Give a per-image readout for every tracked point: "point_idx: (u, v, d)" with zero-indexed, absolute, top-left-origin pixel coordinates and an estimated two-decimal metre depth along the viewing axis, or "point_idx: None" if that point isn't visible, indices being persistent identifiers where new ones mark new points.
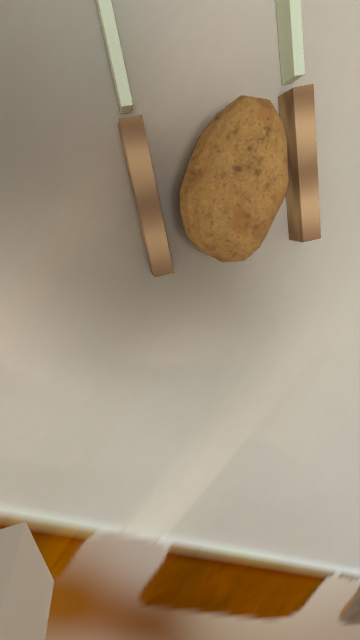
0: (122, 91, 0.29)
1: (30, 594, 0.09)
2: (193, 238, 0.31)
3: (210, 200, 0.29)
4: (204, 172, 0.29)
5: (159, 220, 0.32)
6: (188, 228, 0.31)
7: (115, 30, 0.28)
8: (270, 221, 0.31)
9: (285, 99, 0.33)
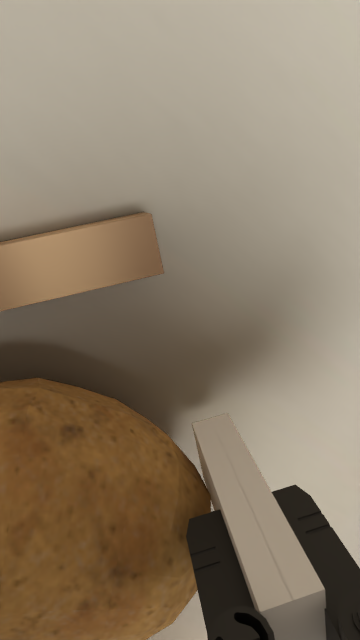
0: None
1: None
2: None
3: None
4: None
5: None
6: None
7: None
8: (100, 493, 0.10)
9: None
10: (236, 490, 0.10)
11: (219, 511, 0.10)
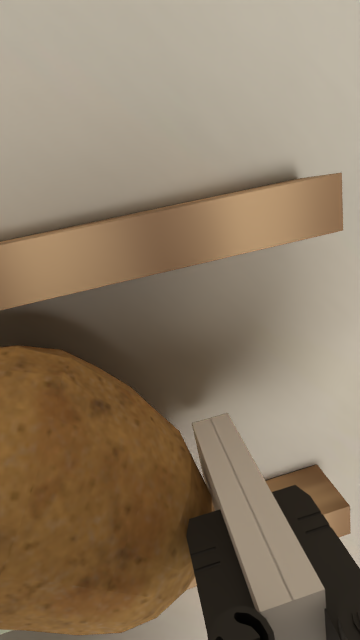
0: None
1: None
2: None
3: (32, 629, 0.11)
4: None
5: None
6: None
7: None
8: (121, 472, 0.10)
9: None
10: (236, 490, 0.10)
11: (219, 511, 0.10)
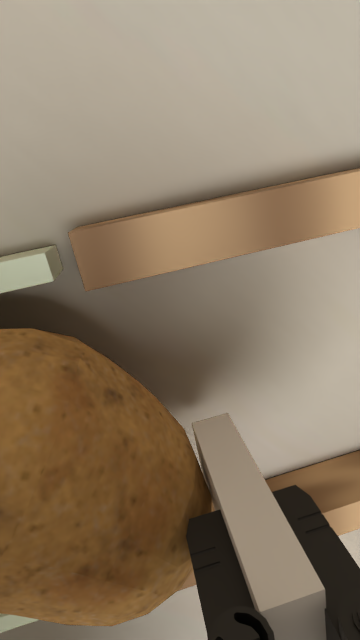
0: None
1: None
2: None
3: (22, 615, 0.10)
4: None
5: (333, 515, 0.18)
6: None
7: None
8: (129, 463, 0.10)
9: None
10: (236, 490, 0.10)
11: (219, 511, 0.10)
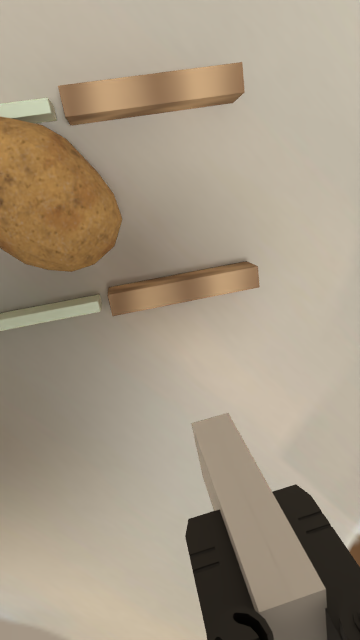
0: (87, 310, 0.31)
1: None
2: (76, 269, 0.27)
3: (32, 244, 0.24)
4: (0, 238, 0.24)
5: (204, 280, 0.31)
6: (64, 270, 0.27)
7: (38, 314, 0.30)
8: (80, 173, 0.24)
9: (75, 120, 0.27)
10: (237, 490, 0.10)
11: (218, 511, 0.10)
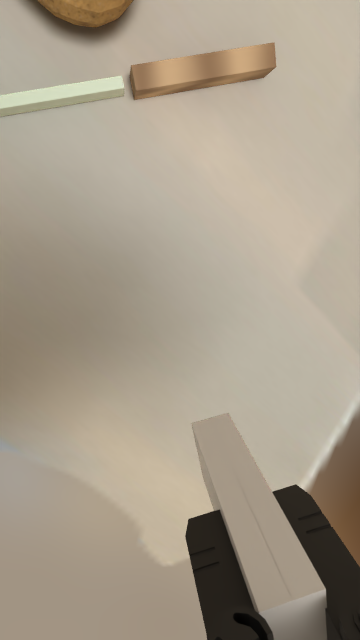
0: (112, 85, 0.32)
1: None
2: (103, 12, 0.28)
3: None
4: None
5: (223, 55, 0.32)
6: (91, 15, 0.28)
7: (65, 86, 0.31)
8: None
9: None
10: (237, 490, 0.10)
11: (218, 511, 0.10)
